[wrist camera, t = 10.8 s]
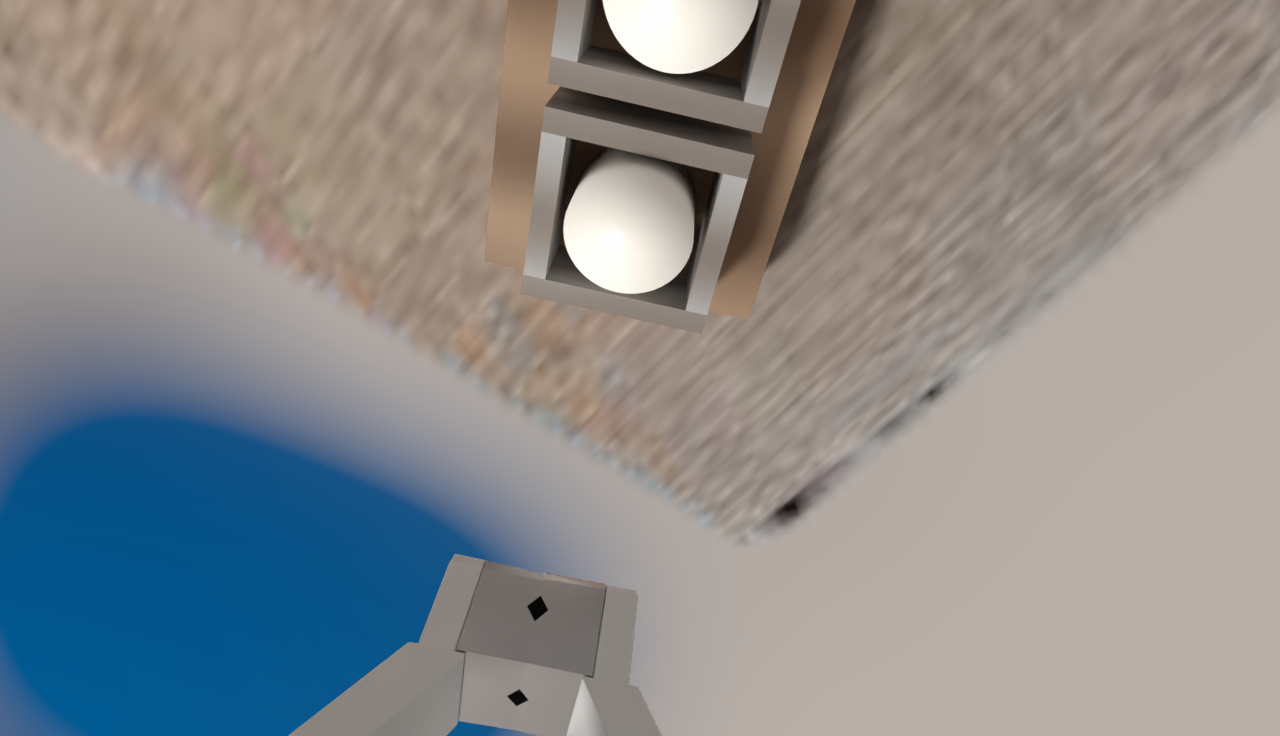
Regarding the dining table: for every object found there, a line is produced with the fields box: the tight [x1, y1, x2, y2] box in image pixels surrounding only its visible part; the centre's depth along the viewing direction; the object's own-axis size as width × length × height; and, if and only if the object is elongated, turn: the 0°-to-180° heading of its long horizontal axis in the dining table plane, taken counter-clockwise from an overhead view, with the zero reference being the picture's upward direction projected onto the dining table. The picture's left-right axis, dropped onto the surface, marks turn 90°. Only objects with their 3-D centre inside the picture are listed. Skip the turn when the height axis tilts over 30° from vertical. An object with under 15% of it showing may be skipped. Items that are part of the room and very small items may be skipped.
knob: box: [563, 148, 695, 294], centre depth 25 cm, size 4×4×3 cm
